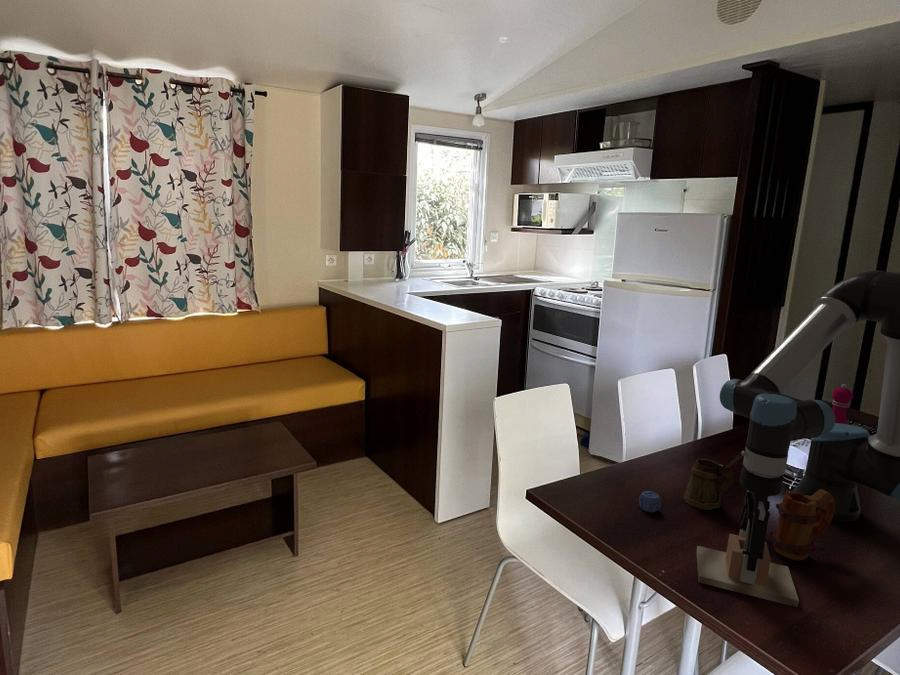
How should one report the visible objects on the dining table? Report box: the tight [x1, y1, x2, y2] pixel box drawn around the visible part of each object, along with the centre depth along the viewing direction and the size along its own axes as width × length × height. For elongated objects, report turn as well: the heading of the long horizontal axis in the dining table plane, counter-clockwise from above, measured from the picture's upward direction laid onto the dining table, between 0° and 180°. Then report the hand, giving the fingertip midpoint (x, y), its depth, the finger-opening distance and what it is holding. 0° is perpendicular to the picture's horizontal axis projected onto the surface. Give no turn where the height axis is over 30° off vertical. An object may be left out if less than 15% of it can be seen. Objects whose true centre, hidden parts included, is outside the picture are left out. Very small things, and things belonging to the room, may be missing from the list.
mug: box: [769, 489, 835, 561], centre depth 128 cm, size 15×8×15 cm, turn 106°
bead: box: [725, 533, 772, 586], centre depth 118 cm, size 7×7×6 cm
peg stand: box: [696, 519, 800, 608], centre depth 118 cm, size 18×12×14 cm, turn 69°
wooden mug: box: [682, 452, 743, 511], centre depth 147 cm, size 9×14×18 cm, turn 41°
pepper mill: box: [831, 383, 854, 425], centre depth 201 cm, size 7×7×20 cm
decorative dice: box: [638, 490, 662, 513], centre depth 146 cm, size 4×4×4 cm
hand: (744, 569), depth 119 cm, fingers open, 8 cm apart
